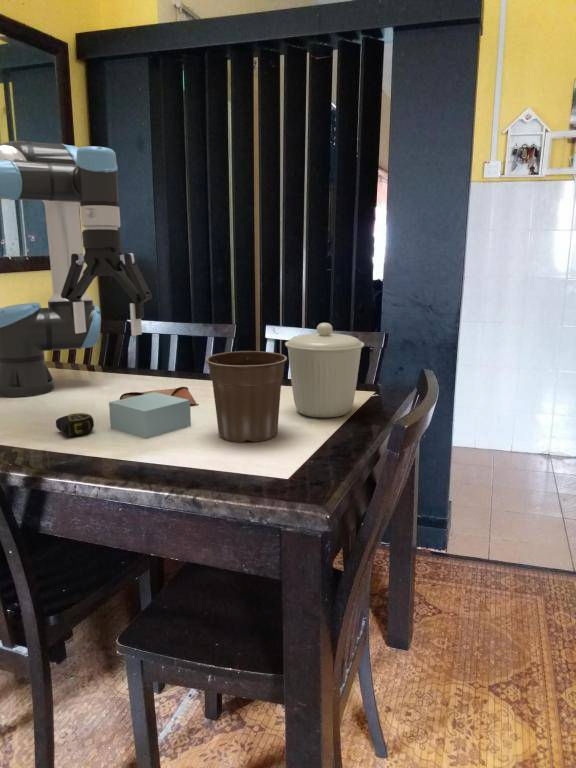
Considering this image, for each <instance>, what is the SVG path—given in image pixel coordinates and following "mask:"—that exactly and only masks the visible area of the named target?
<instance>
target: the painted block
mask: <svg viewBox="0 0 576 768" xmlns="http://www.w3.org/2000/svg"><path fill="white" fill-rule="evenodd" d="M108 407H109V420H110V429H112V430H116V431H118V432H119V431H120V432H123V433H126V434H128V435H129V434H130V435H132V436H135V437H138V438H143V439H146V440H147V439H150V438H154V437H157V436H160V435H163V434H166V433H170V432H174V431H177V430H180V429H185V428H188V427H190V426H192V421H191V420H192V418H191V415H192V414H191V406H190V400H187V399H183V398H178V397H174V396H169V395H165V394H160V393H156V392H153V393H148V394H144V395H139V396H135V397H130V398H126V399H121V400H119V399H117V400H112V401H108Z"/></svg>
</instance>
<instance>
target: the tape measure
mask: <svg viewBox="0 0 576 768" xmlns="http://www.w3.org/2000/svg"><path fill="white" fill-rule="evenodd" d="M94 422H95V421H94V418H93V417H92V415H91V414H89V413H84V412H82V413H81V412H80V413H79V412H78V413H77V412H76V413H70V414H68V415H64V416H62V417H59V418H57V419H56V420H55V425H56V429H57V430H58V431H60V432H61V433H63V434H64V436H65V437H72V436H81V435H85V434H88V433H90V432H92V431H93V430H94V426H95V423H94Z"/></svg>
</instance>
